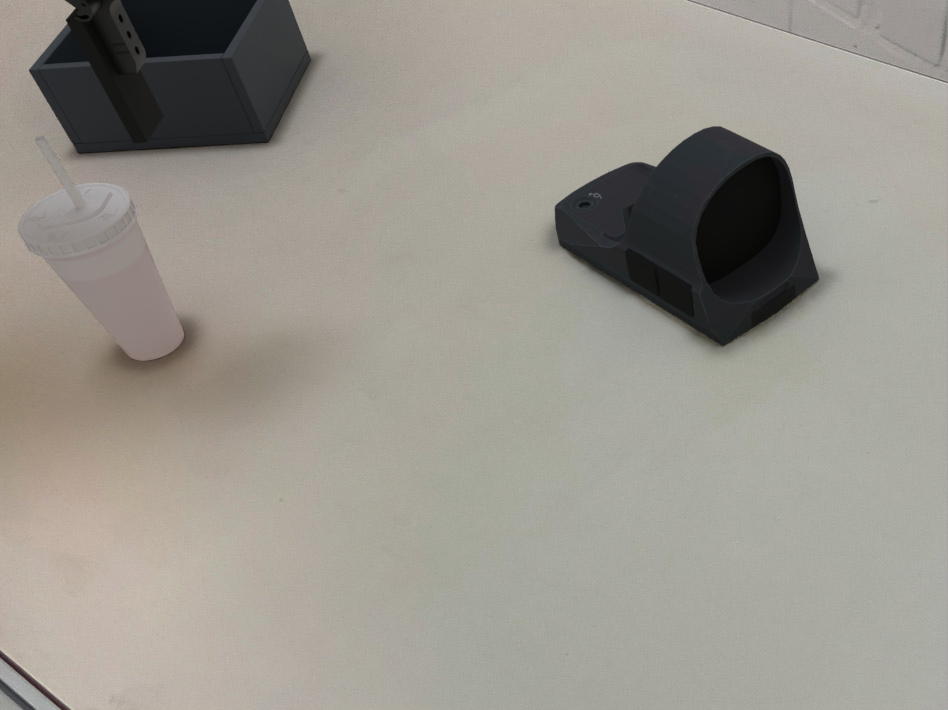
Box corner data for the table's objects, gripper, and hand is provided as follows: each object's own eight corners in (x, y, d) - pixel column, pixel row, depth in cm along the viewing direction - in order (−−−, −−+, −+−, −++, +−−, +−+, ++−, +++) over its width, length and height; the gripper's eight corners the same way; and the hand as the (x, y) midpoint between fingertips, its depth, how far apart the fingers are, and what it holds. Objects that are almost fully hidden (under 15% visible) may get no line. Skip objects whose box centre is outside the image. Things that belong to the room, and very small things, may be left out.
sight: (639, 180, 78) (618, 43, 70) (822, 280, 70) (821, 137, 62) (540, 237, 75) (506, 100, 67) (721, 351, 66) (706, 208, 58)
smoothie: (223, 337, 70) (110, 136, 59) (132, 389, 67) (-4, 189, 56) (175, 298, 73) (60, 100, 62) (86, 346, 70) (-51, 148, 59)
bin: (77, 153, 86) (27, 70, 80) (137, 69, 94) (95, -12, 89) (268, 142, 85) (231, 57, 80) (311, 58, 93) (280, -24, 88)
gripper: (54, -415, 44) (269, 88, 60) (-519, -362, 45) (-154, 117, 62) (-28, -372, 39) (230, 160, 56) (-666, -314, 40) (-228, 190, 57)
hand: (29, 138), depth 59 cm, fingers open, 13 cm apart
